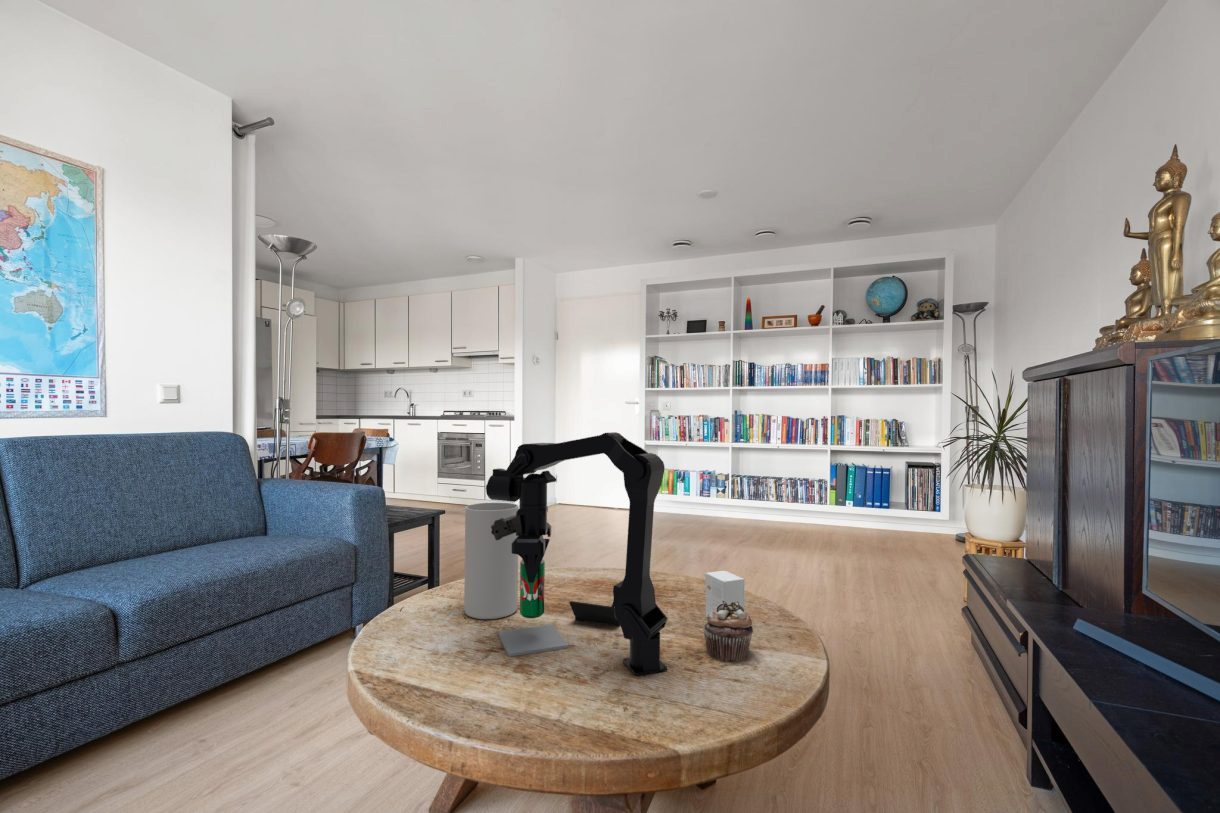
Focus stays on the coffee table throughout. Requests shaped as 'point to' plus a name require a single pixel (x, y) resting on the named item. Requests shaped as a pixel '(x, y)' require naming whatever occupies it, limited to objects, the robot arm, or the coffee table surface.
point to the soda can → (532, 592)
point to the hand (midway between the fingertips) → (532, 578)
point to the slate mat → (531, 640)
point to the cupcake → (728, 632)
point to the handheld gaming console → (594, 613)
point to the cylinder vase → (489, 563)
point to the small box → (723, 589)
